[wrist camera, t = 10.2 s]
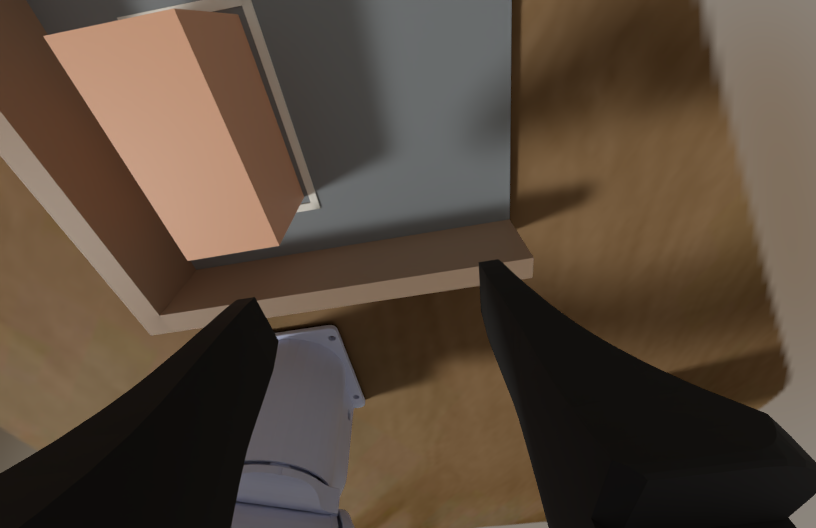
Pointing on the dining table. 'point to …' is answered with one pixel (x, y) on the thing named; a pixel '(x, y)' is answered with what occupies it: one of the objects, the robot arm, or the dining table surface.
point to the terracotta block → (189, 125)
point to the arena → (293, 154)
